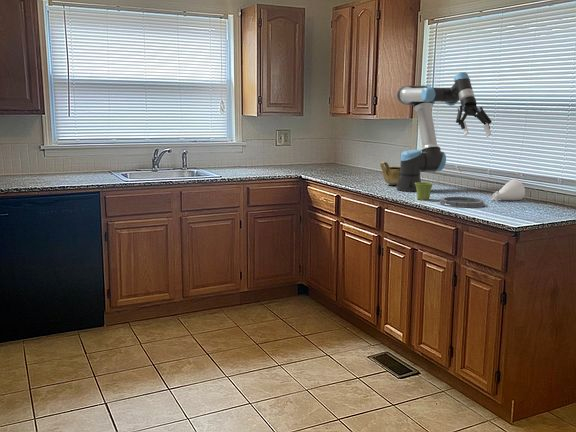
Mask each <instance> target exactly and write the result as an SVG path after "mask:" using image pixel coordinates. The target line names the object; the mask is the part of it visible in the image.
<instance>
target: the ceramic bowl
mask: <svg viewBox="0 0 576 432" xmlns="http://www.w3.org/2000/svg"><path fill="white" fill-rule="evenodd" d="M379 165H380V168H381V171H382V178H383V180H384V181H385V182H386V183H387V184H388V185H390V186H392V185H396V186H395V187H397V184H398V181H399V178H400V166H389V164H388V162H387V161H381V162H380V164H379Z"/></svg>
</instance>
